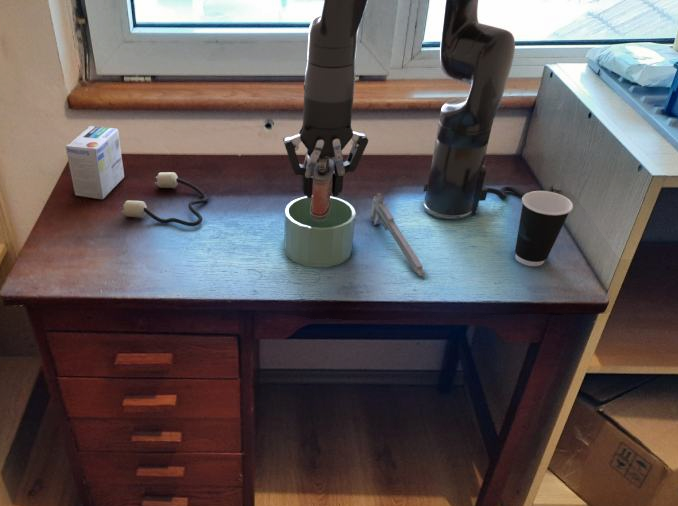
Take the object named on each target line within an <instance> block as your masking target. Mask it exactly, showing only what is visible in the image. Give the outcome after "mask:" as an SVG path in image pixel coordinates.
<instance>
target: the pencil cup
mask: <svg viewBox="0 0 678 506" xmlns="http://www.w3.org/2000/svg"><path fill="white" fill-rule="evenodd" d="M330 199H331V208H330V213H329V215H328V217H327V218H326V219H325V220H322V221H317V220H313V219H312V218H311V215H310V208H311V202H312V198H307V196H306V195H304V196H302V197H297V198H296V199H294V200H291V201H290V202H289V203H288V204H287V205H286V206H285V210H284V232H283V250H284V253H285V254H286V256H287V257H288V258H289V259H290V260H291V261H293V262H295V263H297V264H299V265H302V266H306V267H310V268H329V267H330V268H331V267H335V266H338V265H340V264H343V263H344V262H346V261H347V260H348V259H349V258H350V257H351V255H352V251H353V242H354V234H355V233H354V232H355V225H356V215H357V211H356V210H355V208H354V206H353V205H352V204H351V203H350V202H348V201H347V200H344V199H342V198H340V197H337V196H333V195H332V196H331V195H330Z"/></svg>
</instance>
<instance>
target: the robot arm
mask: <svg viewBox="0 0 678 506" xmlns="http://www.w3.org/2000/svg"><path fill="white" fill-rule="evenodd" d="M368 1H369V0H323V5H322V8H321V14H320V15H317V16H315V17H314V18H313V19H312V21H311V22H310V25H309V29H308V38H307V39H308V41H307V57H306V59H307V61H306V68H305V73H304V83H303V91H304V92H303V107H302V108H303V112H302V126H301V127H300V130H299V132H298V133H297V134H295V135H293V136H289V135H285V136H284V137H283V138H282V141H283V144H284V148H285V150H286V153H287V156H288V159H289V162H290V165H291V169H292V171H293V173H294V175H296V176H302V178H301V179H302V180H301V191H302V192H303V195H304V196H307V198H312V194H313V176H312V175H313V171H314V168H315V166H316V165H317V162H318V159H319V158H322V157H327V156H329V158H331V159H332V160H333V163H334V172H333V184H332V190H331V194H332V197H338V196H339V194H340V193H342V192H343V185H344V176H345V174H347V173H349V172H350V173H354V172H355V171H356V170H357V167H358V165H359V163H360V161H361V159H362V157H363V154H364V153H365V150H366V148H367V146H368V143H369V138H368V137H367V135H366V134H365V133H364V131H358V132H356V131H354V130H353V129H352V117H353V107H354V104H353V103H354V96H355V87H356V86H355V85H356V55H357V44H358V32H359V29H360V26H361V23H362V21H363V17H364V14H365V11H366V8H367V6H368ZM443 7H444V8H443V15H442V16H443V17H442V28H441V34H440V35H441V36H440V44H439V45H440V46H439V47H440V48H439V62H440V68H441V70H442V72H443V74H444V75H445V76H446V77H448V78H450V79H452V80H455V81H458V82H461V83H463V84H467V85H470V89H469V93H468V96H467V97H458V98H453V99H450V100H448V101H446V102H444V103H443V105H442V106H441V109H440V113H439V119H438V125H437V130H436V131H437V132H436V136H435V141H434V147H433V153H432V158H431V163H430V168H429V174H428V180H427V183H425V184H424V186H423V190H422V192H423V193H425V195H424V200H423V204H422V207H423V208H422V209H423V210H424V211H425V212H426V213H427V214H428V215H430V216H432V217H434V218H437V219H440V220H445V221H460V220H464V219H467V218H469V217H471V216H476V215H477V212H478V208H479V203H480V202H482V201H486V199H487V195H488V194H494V195H496V196H497V197H498V198H499V199H500V200H505V199H506V198H507V197H506V196H507V194H506V192H512V193H514V194H516V195H517V196H519V197H520V198H522V197H523V196H524V195H525V194H526V193H527V192H526V193H525V192H524V191H522V190H521V189H519V188H517V187H515V186H509V185H505V186H502V187H501V188H500V189H497V188H493V187H486V185H485V184H484V182H485V178H486V173H487V166H485V165H484V163H485V158H486V154H487V151H488V150H487V149H488V145H489V141H490V137H491V133H492V128H493V124H494V119H495V117H496V115H497V112H498V111H499V109H500V106H501V103H502V100H503V96H504V93H505V90H506V86H507V82H508V79H509V76H510V72H511V69H512V65H513V63H514V56H515V51H516V41H515V37H514V35H513V33H512V32H511V31H509V30H507V29H505V28H501V27H496V26H492V25H489V24H485V23H480V22H479V19H478V7H479V0H444V6H443ZM350 141H351V145H352V146H351V148H350V150H349V153H348V155H347V157H346V159H345V161H344V156H343V150H344V149H345V148H346V146H347V145H348V144H349V142H350ZM300 143H302V144H303V145H304V147H305V148H306V152H305V155H304V156H305V158H304V162H303V164H301V163H300V161H299V159H298V154H297V152H296V151H298V150H299V148H300ZM547 191H548V192H553V193H554V191H555V190H554V189H553V185H551V186H550V187H549V188H548V189H547Z"/></svg>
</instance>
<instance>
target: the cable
mask: <svg viewBox="0 0 678 506" xmlns="http://www.w3.org/2000/svg"><path fill="white" fill-rule="evenodd" d="M155 179H157V181H155V182H154V185H155V186H158V187H159V188H160V189H175V188H177V186H178V183H179V184H182V185H184V186H187V187H189V188H191V189H193V190H194V191H196V192H197V193H198V194H199V195H201V196H202V198H201V199H196V200H191V201H189V202H188V203H187V205H188V206H187V208H188V209H189V212H191V213H192V214H194V215H195V217H197V220H195V221H193V222H192V221H186V220H182V219H179V218H176V217H170V218H167V219H166V218H161V217H158V216H157V215H156V214H154V213H153V212H152V211H150V210H149V209H148V207H147V204H146V202H145V201H144V200H130V199H129V200H128V199H127V200H126V201H125V202H124V204H123V205H122V207H123V210H121V213H122V214H124V215H125V216H126V217H129V218H144V217H145V216H146V215H148V216H149V217H150V218H152V219H153V220H155V221H157V222H159V223H161V224H169V223H177V224H180V225H183V226H187V227H196V226H199V225H200V224H201V223H202V222H203V217H202V214H200V213H199V211H197V210H196V209H195V208H194V207H193V206H194V205H199V204H203V203H206V202H207V201H208V196H207V194H206V193H205V192H204V191H203V190H202V189H201V188H199V187H197V186H196V185H195V184H193V183H191V182H189V181H186V180H184V179H181V178H179V177H178V175H177V173H176V172H173V171H172V172H171V171H168V172H166V171H165V172H158V173H157V176H155Z"/></svg>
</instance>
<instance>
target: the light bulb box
mask: <svg viewBox="0 0 678 506" xmlns="http://www.w3.org/2000/svg"><path fill="white" fill-rule="evenodd" d="M119 135H120V134H119V129H118V128H115V127H114V128H113V127H102V126H94V125H89V126H87V128H85V129H84V130H83V131H82V132H81V133H80V134H79V135H77V137H75V138H74V139H73V140H72V141H70V142H69V143H68V144H66V145H65V151H66V156H67V161H68V167H69V172H70V176H71V180H72V181H71V182H72V185H73V191H74V196H76V197H77V196H78V197H82V198H89V199H90V198H91V199H95V200H96V199H97V200H104V199H105V198H106V197H107V196H108V195H109V194H110V193H111V192H112V190H114V188H116V187H117V186H118V184H119V183H120V182H122V180H123V179H124V178H125V172H124V163H123V157H122V151H121V150H122V149H121V143H120V136H119Z"/></svg>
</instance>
